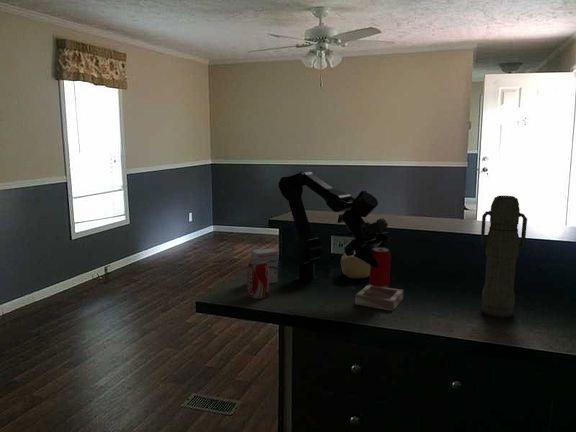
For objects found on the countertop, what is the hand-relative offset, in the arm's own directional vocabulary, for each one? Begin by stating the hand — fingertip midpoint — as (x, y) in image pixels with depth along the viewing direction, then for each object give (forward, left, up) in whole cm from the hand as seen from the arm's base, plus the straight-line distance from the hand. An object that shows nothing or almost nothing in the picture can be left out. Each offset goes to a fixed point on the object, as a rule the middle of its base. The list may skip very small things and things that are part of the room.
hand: (383, 265), depth 148 cm
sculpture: (-23, -17, -13) cm, 31 cm away
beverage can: (0, -1, -7) cm, 7 cm away
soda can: (+13, -38, -12) cm, 42 cm away
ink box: (-1, -44, -12) cm, 46 cm away
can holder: (-1, -1, -12) cm, 12 cm away
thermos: (-9, +33, -12) cm, 36 cm away
